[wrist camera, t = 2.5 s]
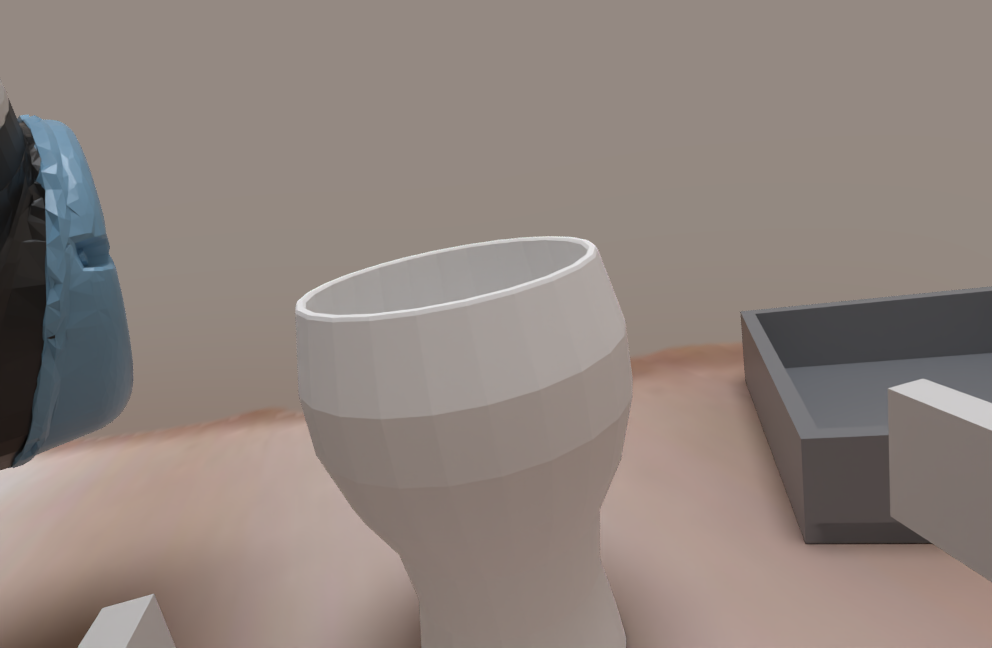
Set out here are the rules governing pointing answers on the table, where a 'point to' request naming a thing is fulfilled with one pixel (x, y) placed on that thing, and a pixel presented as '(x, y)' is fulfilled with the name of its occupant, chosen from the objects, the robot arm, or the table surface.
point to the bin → (856, 396)
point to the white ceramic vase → (478, 430)
